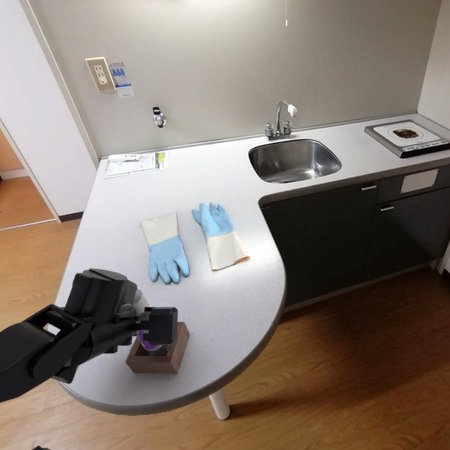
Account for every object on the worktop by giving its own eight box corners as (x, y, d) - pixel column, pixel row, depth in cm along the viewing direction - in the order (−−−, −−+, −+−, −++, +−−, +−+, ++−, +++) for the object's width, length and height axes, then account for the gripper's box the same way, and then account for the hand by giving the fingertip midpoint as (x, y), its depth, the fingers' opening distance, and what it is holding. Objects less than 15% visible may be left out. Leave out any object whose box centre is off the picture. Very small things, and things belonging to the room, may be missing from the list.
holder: (177, 373, 65) (170, 362, 62) (133, 373, 65) (124, 362, 62) (189, 333, 72) (184, 321, 69) (150, 333, 73) (143, 321, 69)
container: (161, 351, 64) (136, 308, 54) (139, 350, 64) (110, 308, 55) (169, 330, 68) (147, 287, 58) (148, 330, 68) (122, 287, 58)
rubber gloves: (153, 294, 81) (145, 278, 77) (141, 223, 103) (134, 208, 99) (250, 259, 91) (248, 243, 86) (220, 201, 113) (217, 187, 109)
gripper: (158, 283, 48) (193, 276, 63) (39, 283, 48) (103, 276, 63) (154, 357, 47) (191, 331, 62) (33, 357, 47) (100, 331, 62)
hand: (146, 316), depth 62 cm, fingers closed on container, 4 cm apart
